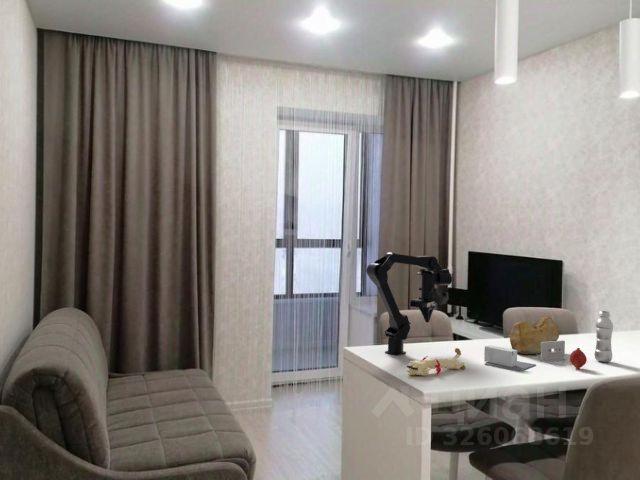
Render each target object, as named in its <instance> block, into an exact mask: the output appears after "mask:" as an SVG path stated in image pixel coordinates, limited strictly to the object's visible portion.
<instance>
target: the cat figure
mask: <svg viewBox="0 0 640 480" xmlns="http://www.w3.org/2000/svg"><path fill="white" fill-rule="evenodd" d="M461 352H462V351H461V349H460V348H458V347H457V348H456V347H455V349H454V353H456V354H455V355H454V356H453V358H444V357H442V358H439V357H438V358H436V357H435V358H430V359H427V358H429V356H427V355H426V356H425V357H423V358H422V359H421V360H420V361H419V360H410V361H409V362H408V364H407V365H406V368H408V370H406V372H407V373H408V375H410V376H415V375H419V376H427V374H429V373H430V372H431V370H434V369H435V371H436V373H435V376H439V374H440V373H441V372H442V368H443V369H451V370H456V369H457V370H461V371H463V370H466V366H465V365H466V364H465V362H464V361H463V362H461V361H460V362H459V361H458V358H460V357H461V355H462V353H461Z"/></svg>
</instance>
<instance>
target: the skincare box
mask: <svg viewBox="0 0 640 480" xmlns="http://www.w3.org/2000/svg"><path fill="white" fill-rule="evenodd" d="M483 355H484V357H483V358H484V362H486V363H488V362H490V363H494V364H499V365H503V366H508V367H513V366H517V361H518V353H517V350H514V349H512V348H509V347H508V348H507V347H503V346H502V347H501V346H497V345H492V344H489V345H484V353H483Z"/></svg>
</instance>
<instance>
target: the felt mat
mask: <svg viewBox="0 0 640 480" xmlns="http://www.w3.org/2000/svg"><path fill="white" fill-rule="evenodd" d="M484 365H485V366H491V367H495V368H499V369H500V368H501V369H506V370H511V371H515V372H522V371H523V372H524V371H525V370H528V369H530V367H531V368H533V367H535V366H537V364H536V363H530V362H524V361H519V360H517V366H513V367H508V366H503V365H499V364H494V363H490V362H486V363H484Z"/></svg>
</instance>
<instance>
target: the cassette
mask: <svg viewBox="0 0 640 480" xmlns="http://www.w3.org/2000/svg"><path fill="white" fill-rule="evenodd" d="M565 347H566V341H565V340H564V339H563V340H557V341H549V342H541V352H540V362H543V363H544V362H545V363H546V362H556V361H564V360H565V350H566V348H565ZM552 350H553V351H552Z"/></svg>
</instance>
